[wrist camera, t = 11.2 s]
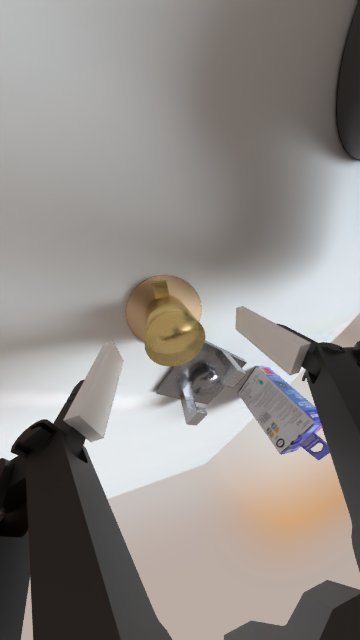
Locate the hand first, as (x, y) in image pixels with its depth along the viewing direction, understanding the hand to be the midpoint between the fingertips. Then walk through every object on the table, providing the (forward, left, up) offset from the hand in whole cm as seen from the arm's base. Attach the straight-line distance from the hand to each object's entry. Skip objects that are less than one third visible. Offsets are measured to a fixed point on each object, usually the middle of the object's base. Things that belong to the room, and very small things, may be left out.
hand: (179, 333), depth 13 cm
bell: (+1, 0, -6) cm, 6 cm away
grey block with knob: (+9, +14, -7) cm, 17 cm away
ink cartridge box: (+6, +30, -7) cm, 31 cm away
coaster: (+1, 0, -7) cm, 7 cm away
